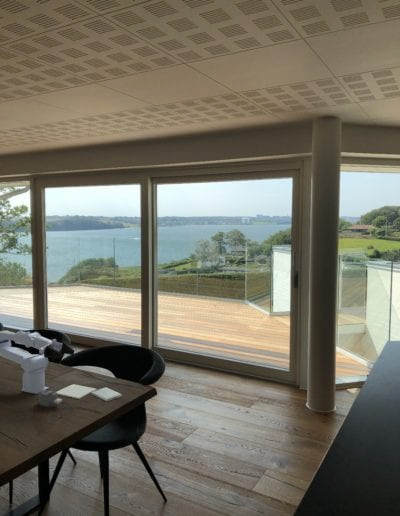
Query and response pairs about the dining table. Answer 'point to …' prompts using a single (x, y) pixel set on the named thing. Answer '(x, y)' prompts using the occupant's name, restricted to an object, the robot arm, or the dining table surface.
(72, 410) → the dining table surface
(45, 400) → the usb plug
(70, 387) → the rubber mat
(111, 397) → the hard drive
